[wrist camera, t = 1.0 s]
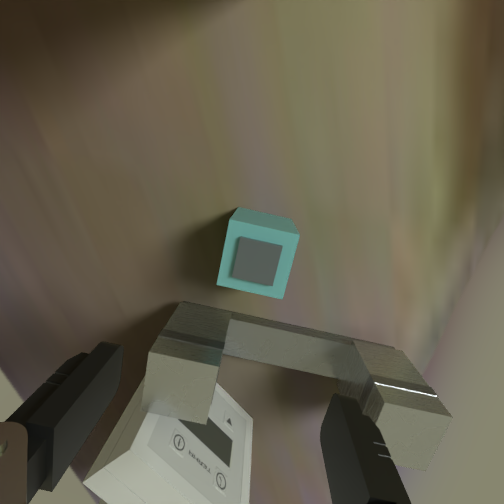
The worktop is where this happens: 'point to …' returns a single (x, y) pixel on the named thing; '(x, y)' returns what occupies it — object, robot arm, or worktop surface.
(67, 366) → the robot arm
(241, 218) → the block
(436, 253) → the worktop surface
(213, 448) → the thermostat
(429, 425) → the rail
